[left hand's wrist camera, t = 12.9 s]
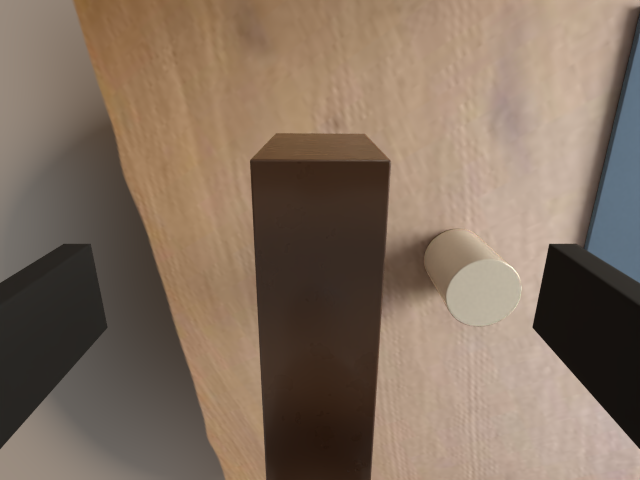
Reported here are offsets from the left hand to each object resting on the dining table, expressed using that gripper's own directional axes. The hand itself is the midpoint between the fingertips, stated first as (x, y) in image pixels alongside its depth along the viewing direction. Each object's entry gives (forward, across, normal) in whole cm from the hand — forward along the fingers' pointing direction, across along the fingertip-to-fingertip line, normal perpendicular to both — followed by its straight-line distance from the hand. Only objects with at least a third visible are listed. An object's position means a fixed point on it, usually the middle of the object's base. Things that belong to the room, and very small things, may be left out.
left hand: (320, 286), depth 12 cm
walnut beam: (+13, 0, -10) cm, 16 cm away
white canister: (+29, +14, -11) cm, 34 cm away
